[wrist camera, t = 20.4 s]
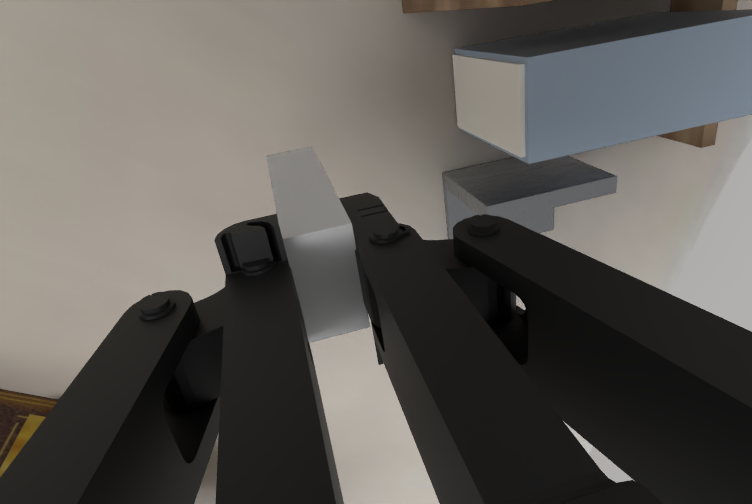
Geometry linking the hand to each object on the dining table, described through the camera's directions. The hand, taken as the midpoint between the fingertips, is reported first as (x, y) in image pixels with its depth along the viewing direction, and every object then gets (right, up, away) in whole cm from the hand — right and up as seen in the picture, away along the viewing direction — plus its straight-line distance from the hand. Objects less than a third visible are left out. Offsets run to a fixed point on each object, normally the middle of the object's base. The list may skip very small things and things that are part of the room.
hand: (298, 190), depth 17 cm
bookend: (+11, +2, +19) cm, 22 cm away
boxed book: (+14, +10, +16) cm, 24 cm away
